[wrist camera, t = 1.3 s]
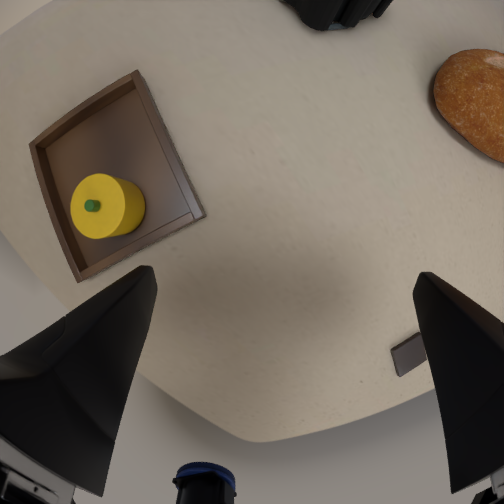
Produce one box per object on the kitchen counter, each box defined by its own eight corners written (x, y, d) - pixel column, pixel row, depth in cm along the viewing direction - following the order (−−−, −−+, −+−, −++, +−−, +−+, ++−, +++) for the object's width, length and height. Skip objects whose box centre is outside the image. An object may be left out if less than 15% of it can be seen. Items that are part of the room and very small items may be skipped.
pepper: (111, 243, 26) (76, 251, 19) (91, 197, 25) (54, 192, 18) (155, 219, 26) (129, 220, 19) (134, 171, 25) (104, 158, 18)
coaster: (397, 375, 29) (399, 377, 28) (390, 349, 28) (392, 351, 28) (424, 357, 29) (427, 359, 28) (418, 331, 28) (421, 333, 28)
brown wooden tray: (88, 278, 26) (77, 283, 24) (40, 147, 24) (28, 143, 22) (206, 216, 26) (203, 215, 24) (144, 78, 24) (137, 68, 22)
